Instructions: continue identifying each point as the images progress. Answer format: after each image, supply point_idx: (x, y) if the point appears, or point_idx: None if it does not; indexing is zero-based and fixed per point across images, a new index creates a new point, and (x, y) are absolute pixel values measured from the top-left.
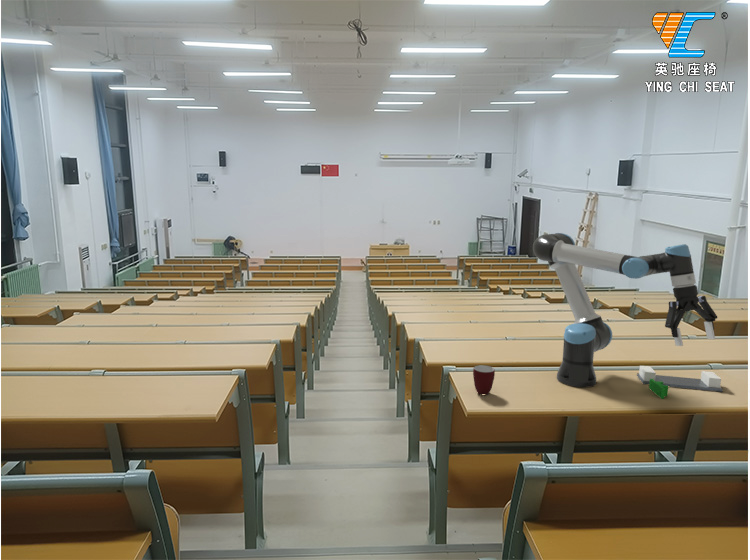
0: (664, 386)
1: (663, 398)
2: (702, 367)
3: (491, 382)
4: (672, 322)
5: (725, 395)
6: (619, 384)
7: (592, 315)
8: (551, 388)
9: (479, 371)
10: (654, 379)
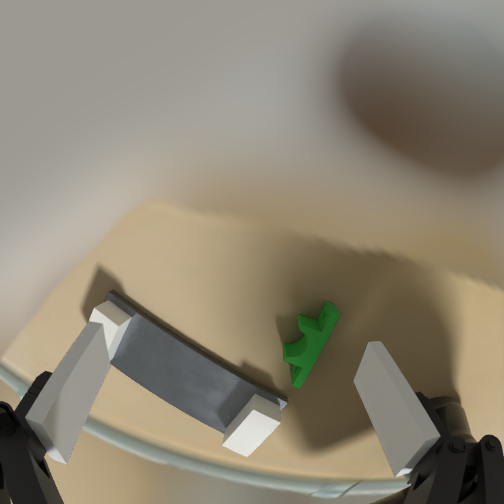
0: (313, 329)
1: (328, 302)
2: None
3: None
4: (493, 471)
5: (124, 269)
6: (352, 407)
7: None
8: (493, 395)
9: None
10: (255, 398)
